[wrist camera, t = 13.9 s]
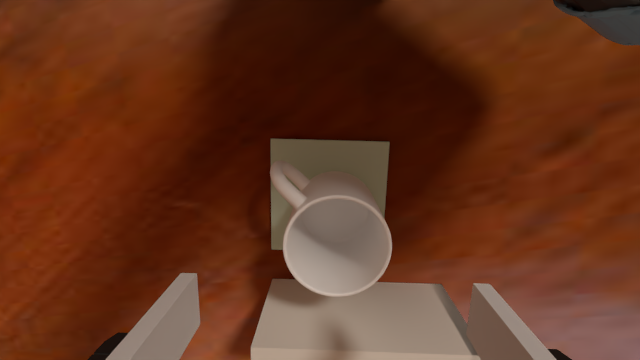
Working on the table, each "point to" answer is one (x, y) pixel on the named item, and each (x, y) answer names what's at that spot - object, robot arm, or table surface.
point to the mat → (327, 170)
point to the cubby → (361, 324)
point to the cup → (332, 231)
